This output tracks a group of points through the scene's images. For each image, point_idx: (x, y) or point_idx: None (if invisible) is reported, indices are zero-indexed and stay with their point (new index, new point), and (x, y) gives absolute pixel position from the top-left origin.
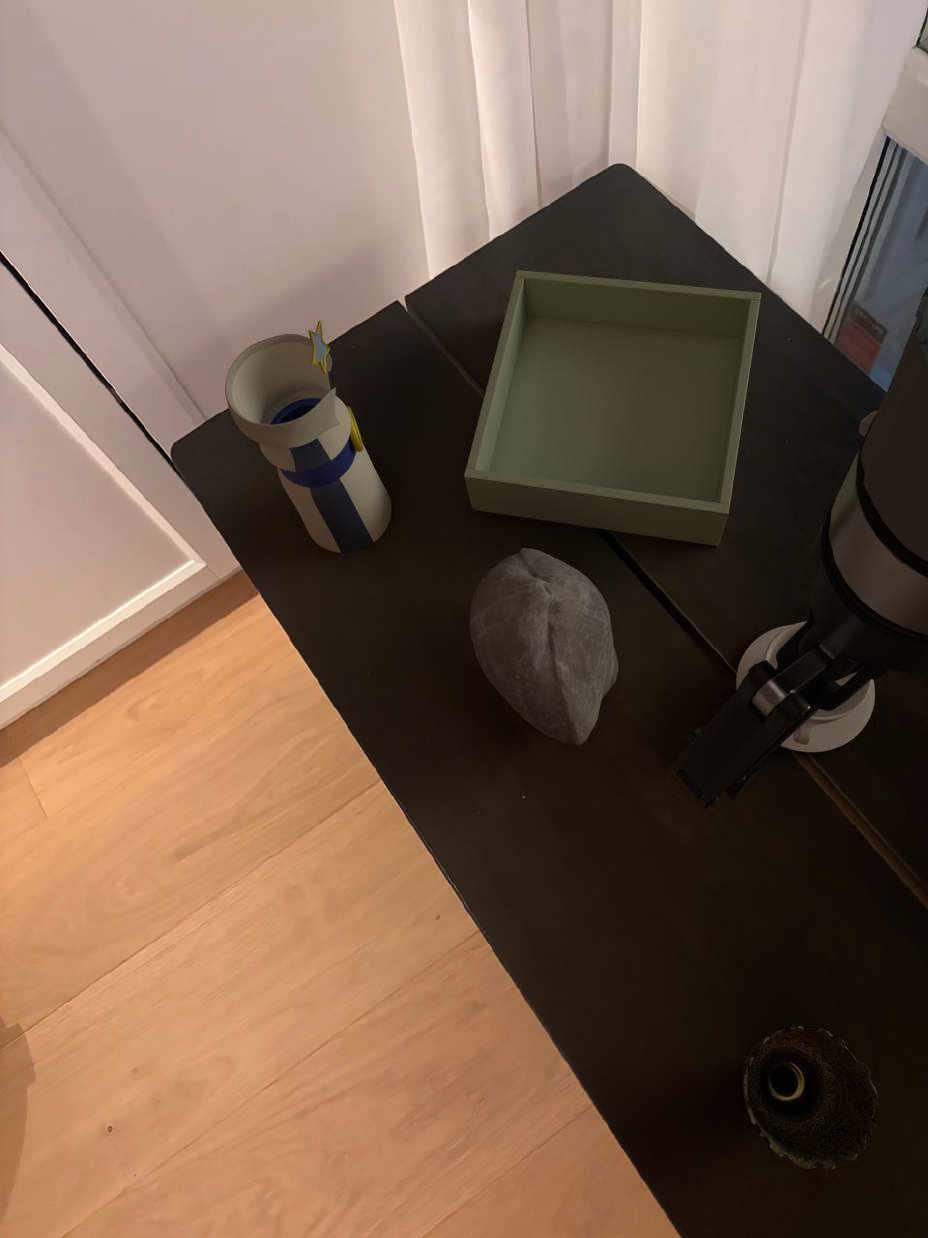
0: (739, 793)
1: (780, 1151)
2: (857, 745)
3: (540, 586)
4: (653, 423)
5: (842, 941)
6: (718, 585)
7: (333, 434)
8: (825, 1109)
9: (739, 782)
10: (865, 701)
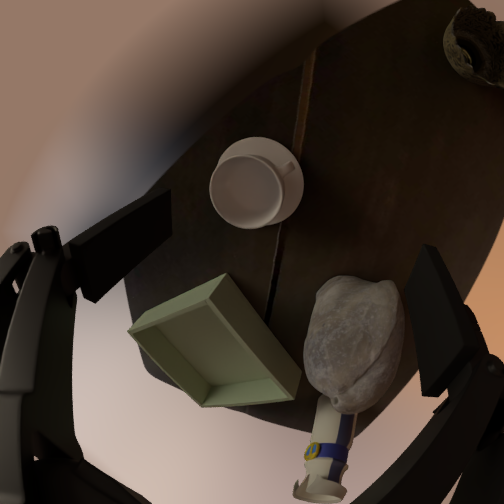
0: (439, 259)
1: None
2: (263, 132)
3: (337, 407)
4: (204, 330)
5: (375, 65)
6: (244, 259)
7: (322, 467)
8: (461, 33)
9: (500, 369)
10: (237, 148)
